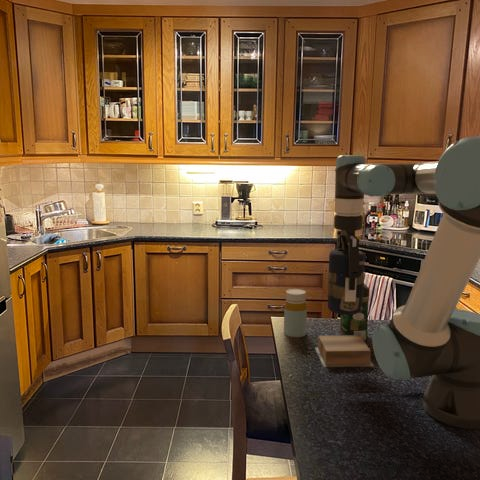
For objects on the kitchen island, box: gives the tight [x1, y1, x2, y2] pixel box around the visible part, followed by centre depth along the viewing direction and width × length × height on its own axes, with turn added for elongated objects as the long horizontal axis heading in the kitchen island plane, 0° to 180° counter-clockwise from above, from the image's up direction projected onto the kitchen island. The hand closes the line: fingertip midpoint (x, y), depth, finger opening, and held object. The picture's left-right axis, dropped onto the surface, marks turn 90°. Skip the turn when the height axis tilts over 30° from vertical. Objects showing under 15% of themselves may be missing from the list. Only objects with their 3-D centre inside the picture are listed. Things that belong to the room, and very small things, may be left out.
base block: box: [317, 334, 372, 365], centre depth 135 cm, size 11×12×4 cm
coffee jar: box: [339, 283, 370, 341], centre depth 150 cm, size 10×8×19 cm
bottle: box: [283, 288, 308, 338], centre depth 152 cm, size 7×7×15 cm
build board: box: [314, 346, 375, 368], centre depth 135 cm, size 18×15×1 cm
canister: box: [327, 248, 366, 315], centre depth 131 cm, size 10×10×18 cm
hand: (345, 295), depth 132 cm, fingers closed on canister, 9 cm apart
